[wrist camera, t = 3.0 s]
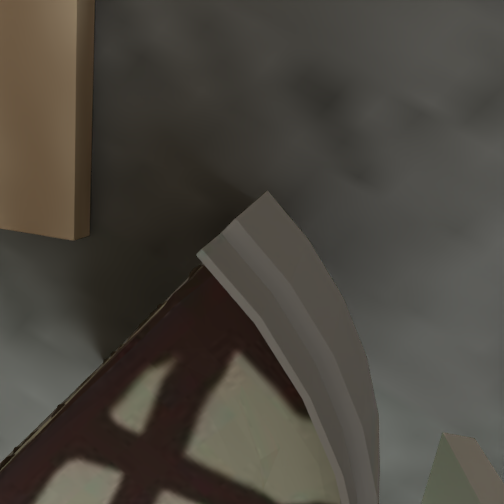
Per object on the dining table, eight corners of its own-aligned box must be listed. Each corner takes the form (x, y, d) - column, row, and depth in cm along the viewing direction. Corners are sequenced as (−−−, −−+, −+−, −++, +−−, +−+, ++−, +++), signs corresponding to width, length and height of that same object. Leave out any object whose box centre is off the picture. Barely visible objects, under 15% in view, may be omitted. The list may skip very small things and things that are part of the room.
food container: (185, 478, 16) (11, 932, 7) (82, 382, 16) (-261, 717, 6) (411, 300, 13) (703, 671, 3) (290, 175, 13) (242, 205, 3)
